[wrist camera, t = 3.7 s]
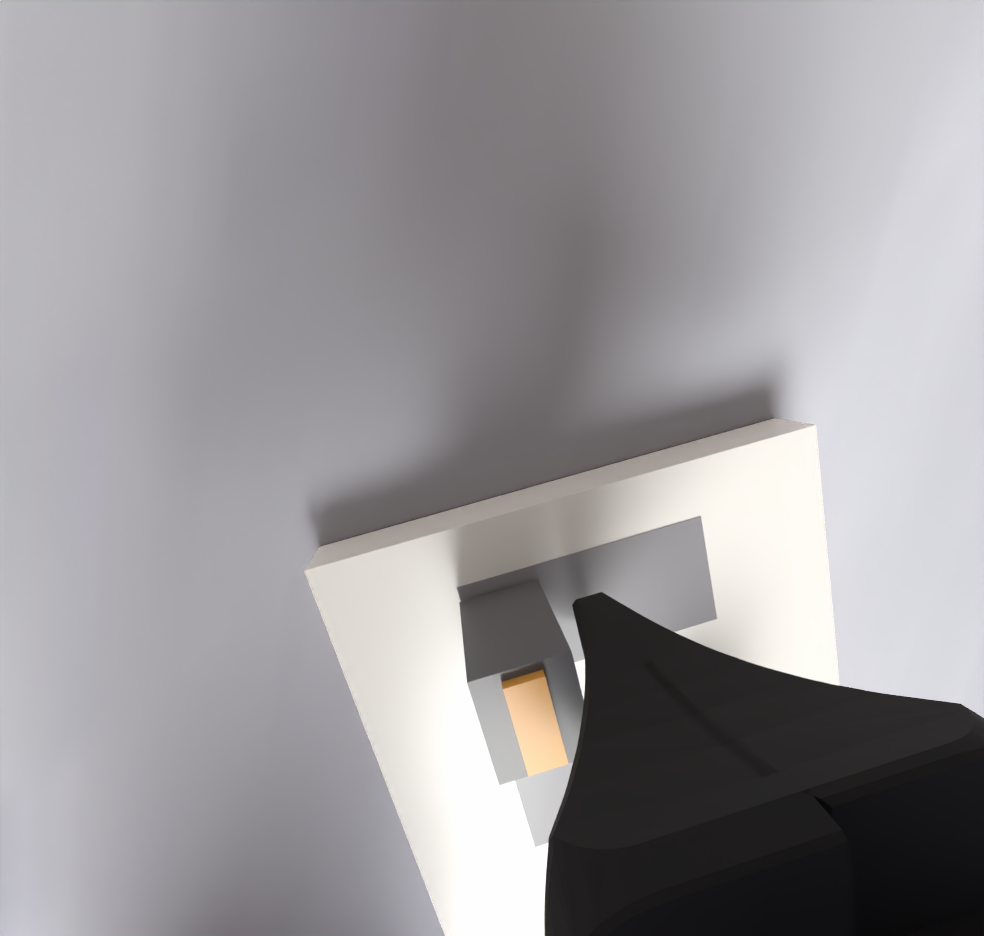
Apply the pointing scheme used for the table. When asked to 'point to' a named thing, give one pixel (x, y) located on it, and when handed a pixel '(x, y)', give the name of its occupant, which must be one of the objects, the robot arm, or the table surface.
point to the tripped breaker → (521, 681)
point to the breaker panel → (566, 629)
